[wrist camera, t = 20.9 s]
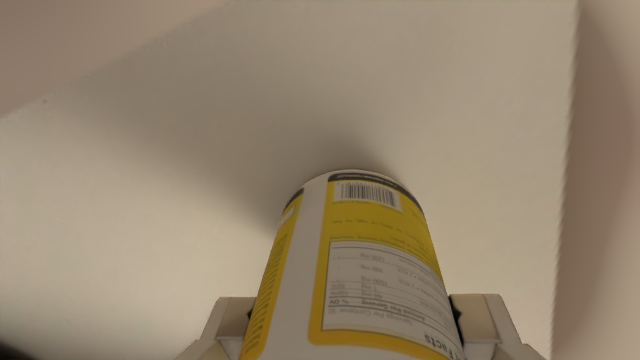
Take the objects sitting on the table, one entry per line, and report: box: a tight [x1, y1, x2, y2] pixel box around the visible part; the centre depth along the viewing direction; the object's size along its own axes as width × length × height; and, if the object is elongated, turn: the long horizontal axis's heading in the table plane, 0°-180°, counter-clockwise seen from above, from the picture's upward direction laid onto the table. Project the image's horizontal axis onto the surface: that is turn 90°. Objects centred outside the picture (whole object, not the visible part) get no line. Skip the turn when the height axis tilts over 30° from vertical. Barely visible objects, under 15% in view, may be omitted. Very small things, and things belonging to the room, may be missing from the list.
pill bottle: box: [238, 169, 466, 360], centre depth 10 cm, size 6×6×12 cm
